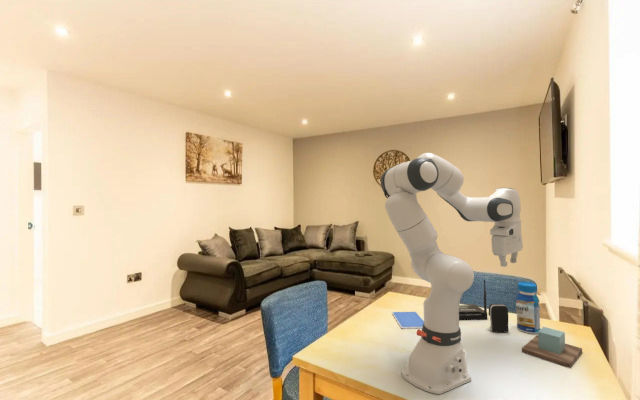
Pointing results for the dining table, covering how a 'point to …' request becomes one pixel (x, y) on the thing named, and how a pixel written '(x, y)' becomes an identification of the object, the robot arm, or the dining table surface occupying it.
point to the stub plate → (564, 358)
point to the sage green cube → (551, 340)
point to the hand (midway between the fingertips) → (508, 264)
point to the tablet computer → (408, 320)
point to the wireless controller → (473, 311)
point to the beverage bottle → (528, 308)
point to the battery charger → (498, 317)
